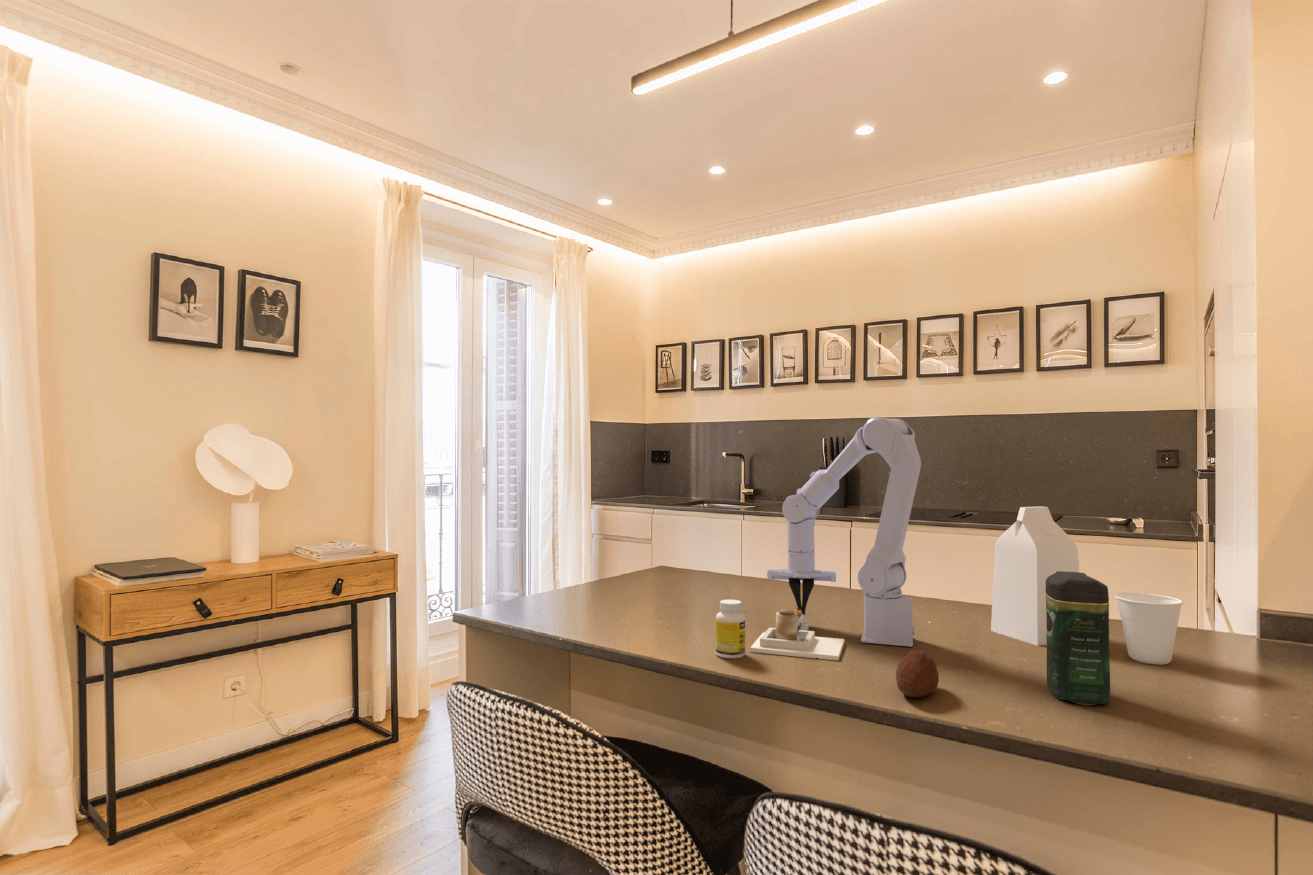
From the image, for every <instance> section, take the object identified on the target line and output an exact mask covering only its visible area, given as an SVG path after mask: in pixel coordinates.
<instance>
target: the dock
mask: <svg viewBox="0 0 1313 875" xmlns="http://www.w3.org/2000/svg"><path fill="white" fill-rule="evenodd" d="M815 633H816V631H815V630H809V619H805V620H803V625H802V626H801V628H800V630H799V633H798V634H797V641H794V640H783V639H776V627H768V628H767V630H766V631H763V632H762V633H761V634H760V636H759V637H758V638H756V640H755V641H754V642H753V644H752V645H751V646H750V650H749V651H750V653H757V654H768V655H775V656H776V655H777V656H787V657H789V656H790V657H797V658H806V659H807V658H808V659H809V658H810V659H816V658H818V660H827V661H838V662H839V660H840V657H841V654H842V652H843V648H844V647H845V639H844V638H835V637H823V636H816V634H815Z"/></svg>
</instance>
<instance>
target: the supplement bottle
mask: <svg viewBox="0 0 1313 875" xmlns="http://www.w3.org/2000/svg"><path fill="white" fill-rule="evenodd" d="M719 610H720V611H719V612H717V614H716V616H715V654H716V655H717V657H720V658H723V659H741V658H743V657H745V655H746V616H745V615H744V614H743V613H742V612H741V611H742V601H741V600H738V599H722V600H720V601H719Z"/></svg>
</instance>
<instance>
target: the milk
mask: <svg viewBox="0 0 1313 875" xmlns="http://www.w3.org/2000/svg"><path fill="white" fill-rule="evenodd" d="M993 556H994V557H993V560H994V561H993V574H992V575H993V579H992V596H991V598H992V599H991V617H990V619H991V621H990V622H991V623H990V632H992V631H993V633H995V632H996V634H999V635H1002V634H1003V635H1002V636H1005V637H1007V638H1008V637H1009V638H1011V637H1012V639H1015V640H1018V639H1019V640H1018V641H1021V642H1025V643H1027V642H1028V643H1027V644H1031V645H1033V646H1037V647H1039V646H1047V620H1046V591H1045V590H1046V583H1045V582H1046V579H1047V577H1049V576H1050V575H1052V574H1055V573H1056V572H1057V571H1064V572H1080V563H1079V551H1078V547H1077V544H1076V543H1075V541H1074V540H1073V539H1072V538H1071V536H1069V535H1068V534H1067V532H1065V531H1064V530H1063V528H1061V526H1059V524H1058V523H1057V522H1055V520H1054V519H1053V517H1052V514H1051V511H1050V510H1049V506H1021V507H1019V510H1018V514H1017V518H1016V521H1015V522H1014V523H1013V524H1011V525H1010V527H1008V528H1007V529H1006V530H1005V531H1004V532H1003V533H1002V534H1001V535H1000V536H999V537H998V538H997V539H996V541H995V544H994V555H993Z"/></svg>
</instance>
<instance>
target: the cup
mask: <svg viewBox="0 0 1313 875" xmlns="http://www.w3.org/2000/svg"><path fill="white" fill-rule="evenodd" d="M1114 597H1115V599H1116V602H1117V606H1118V611H1119V617H1120V619H1121V625H1122V629H1123V635H1124V640H1125V643H1126V644H1125V645H1126V650H1127V653H1128V656H1129V657H1130V659H1132V660H1133V661H1136V662H1139V663H1142V664H1148V665H1158V666H1163V665H1168V664H1169V663H1171V662H1172V659H1173V658H1172V657H1173V652H1174V647H1175V641H1176V634H1177V631H1178V630H1177V629H1178V624H1179V620H1180V614H1181V608H1182V605H1183V604H1184V601H1183V600H1181V599H1179V598H1176V597H1173V596H1168V595H1162V594H1157V593H1156V594H1154V593H1146V592H1120V593H1116V594H1115V595H1114Z"/></svg>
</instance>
